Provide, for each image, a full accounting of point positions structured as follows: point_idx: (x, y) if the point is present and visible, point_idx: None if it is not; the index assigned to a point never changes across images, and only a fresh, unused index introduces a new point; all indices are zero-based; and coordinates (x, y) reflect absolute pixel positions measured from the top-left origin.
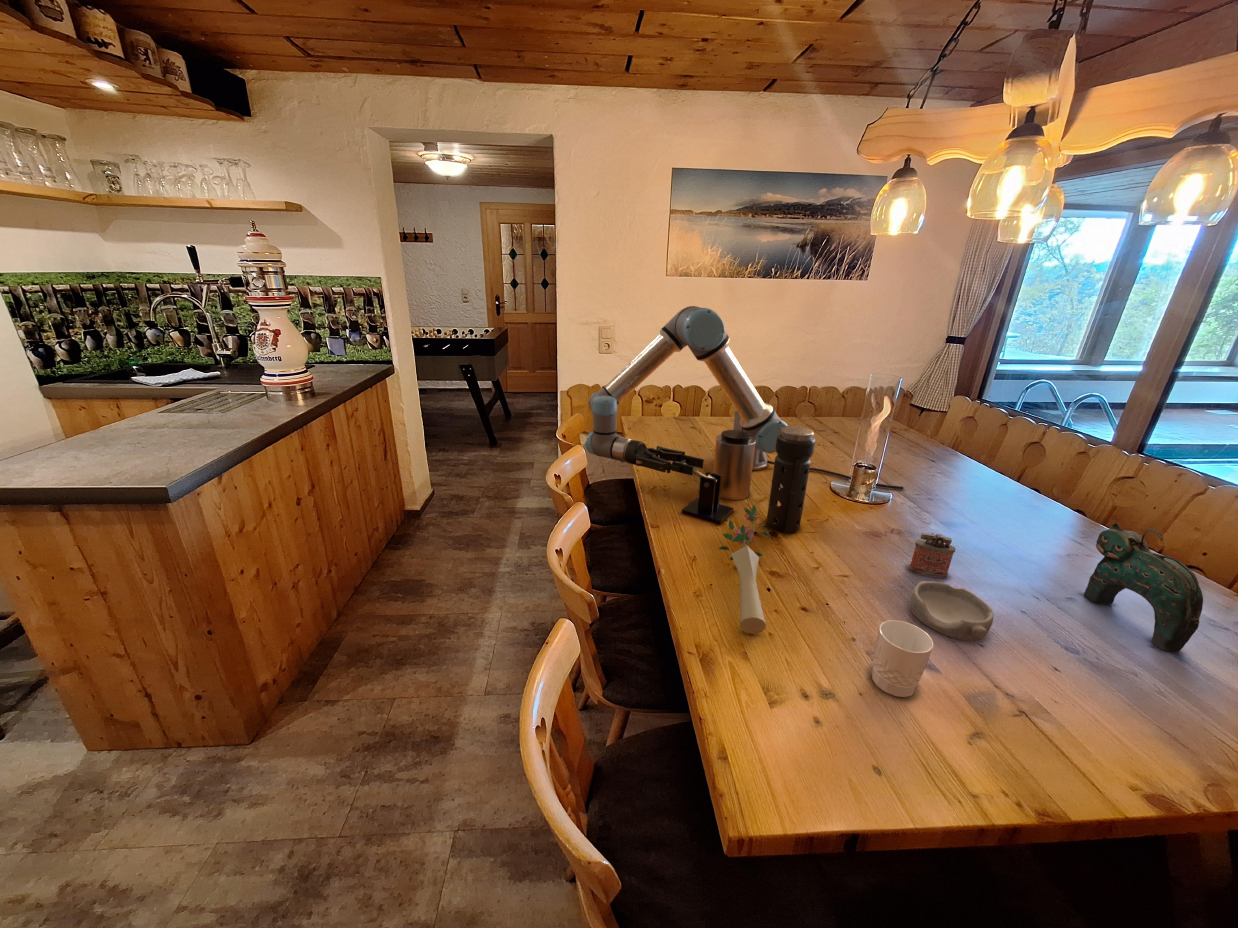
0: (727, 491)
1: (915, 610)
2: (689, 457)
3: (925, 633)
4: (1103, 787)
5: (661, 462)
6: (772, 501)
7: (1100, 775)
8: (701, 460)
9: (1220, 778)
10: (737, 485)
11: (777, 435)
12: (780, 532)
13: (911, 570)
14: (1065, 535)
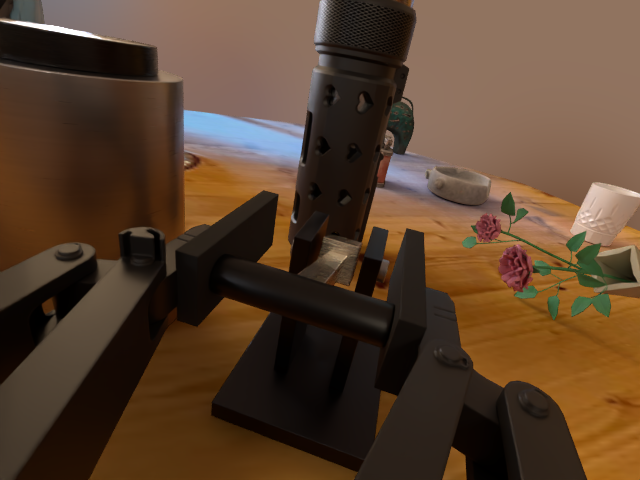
0: None
1: (477, 199)
2: (233, 232)
3: (596, 182)
4: (562, 202)
5: (522, 444)
6: (357, 198)
7: (553, 200)
8: (275, 201)
9: (505, 179)
10: None
11: None
12: None
13: (383, 186)
14: (255, 125)
